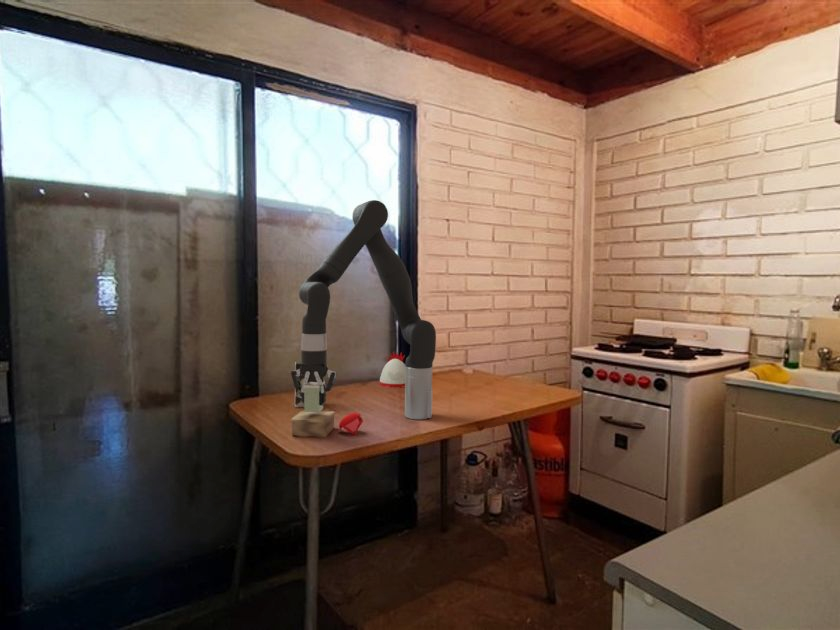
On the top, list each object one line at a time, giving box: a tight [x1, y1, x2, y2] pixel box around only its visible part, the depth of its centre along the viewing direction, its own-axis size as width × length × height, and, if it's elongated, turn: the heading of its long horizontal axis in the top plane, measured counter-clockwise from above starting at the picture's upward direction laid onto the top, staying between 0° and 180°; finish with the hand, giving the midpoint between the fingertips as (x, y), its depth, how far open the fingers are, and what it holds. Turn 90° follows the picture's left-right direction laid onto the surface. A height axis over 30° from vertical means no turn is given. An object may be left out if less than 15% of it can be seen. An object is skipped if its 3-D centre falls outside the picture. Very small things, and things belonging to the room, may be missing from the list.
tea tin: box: [303, 382, 324, 412], centre depth 150 cm, size 5×5×8 cm
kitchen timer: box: [379, 351, 406, 388], centre depth 223 cm, size 14×14×15 cm
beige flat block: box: [290, 410, 336, 438], centre depth 150 cm, size 11×11×5 cm
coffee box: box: [294, 360, 304, 408], centre depth 183 cm, size 9×6×16 cm
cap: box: [338, 412, 364, 436], centre depth 150 cm, size 8×6×6 cm
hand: (313, 404), depth 150 cm, fingers closed on tea tin, 4 cm apart
